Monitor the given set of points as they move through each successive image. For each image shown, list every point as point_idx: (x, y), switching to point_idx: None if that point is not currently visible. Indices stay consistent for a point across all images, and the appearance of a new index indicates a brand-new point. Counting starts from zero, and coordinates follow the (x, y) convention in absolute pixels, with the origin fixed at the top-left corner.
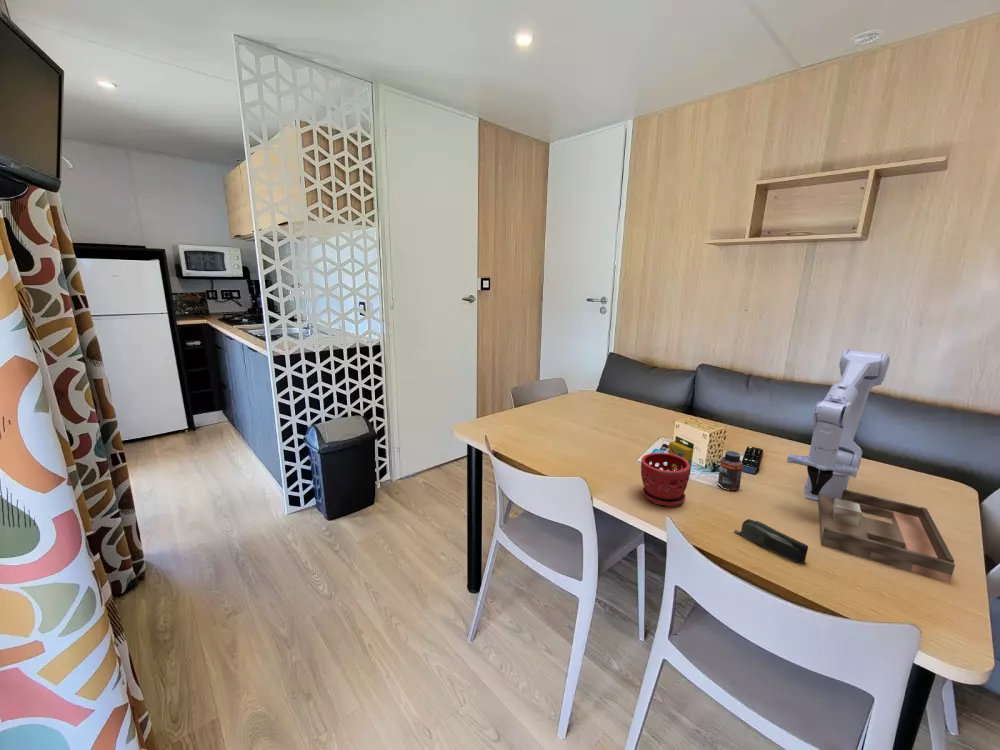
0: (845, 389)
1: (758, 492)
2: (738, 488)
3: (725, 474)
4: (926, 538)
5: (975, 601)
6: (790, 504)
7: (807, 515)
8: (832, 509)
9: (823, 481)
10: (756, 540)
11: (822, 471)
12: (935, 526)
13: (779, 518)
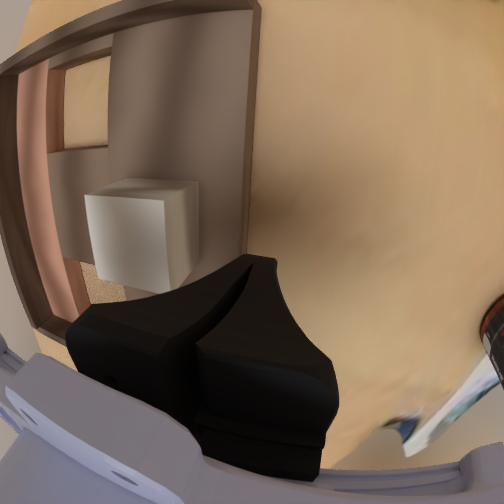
0: None
1: (427, 330)
2: (492, 313)
3: None
4: (28, 216)
5: (21, 40)
6: (338, 292)
7: (288, 228)
8: (195, 262)
9: (176, 299)
10: None
11: (156, 403)
12: (2, 241)
13: (403, 144)
